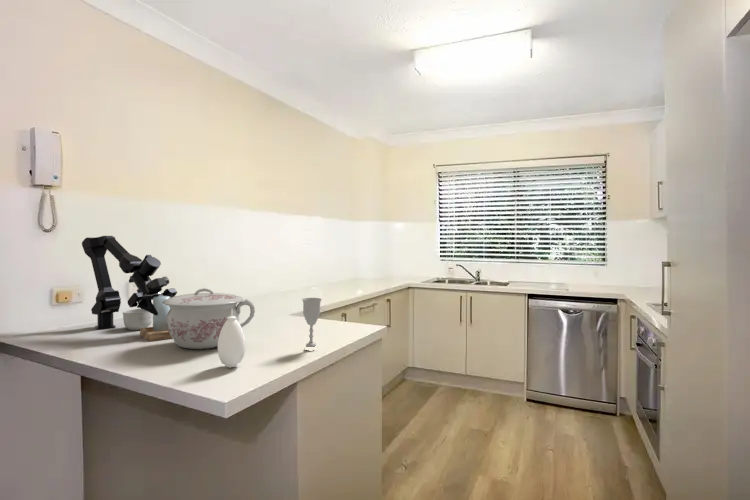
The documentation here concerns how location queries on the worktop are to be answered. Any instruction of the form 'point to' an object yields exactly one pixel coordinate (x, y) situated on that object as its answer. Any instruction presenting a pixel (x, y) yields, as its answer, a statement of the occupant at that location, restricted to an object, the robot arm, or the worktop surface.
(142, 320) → the teacup
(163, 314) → the pale blue rounded cylinder
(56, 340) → the worktop surface
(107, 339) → the worktop surface
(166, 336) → the tray
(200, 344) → the chamber pot
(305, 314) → the chalice
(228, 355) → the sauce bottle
